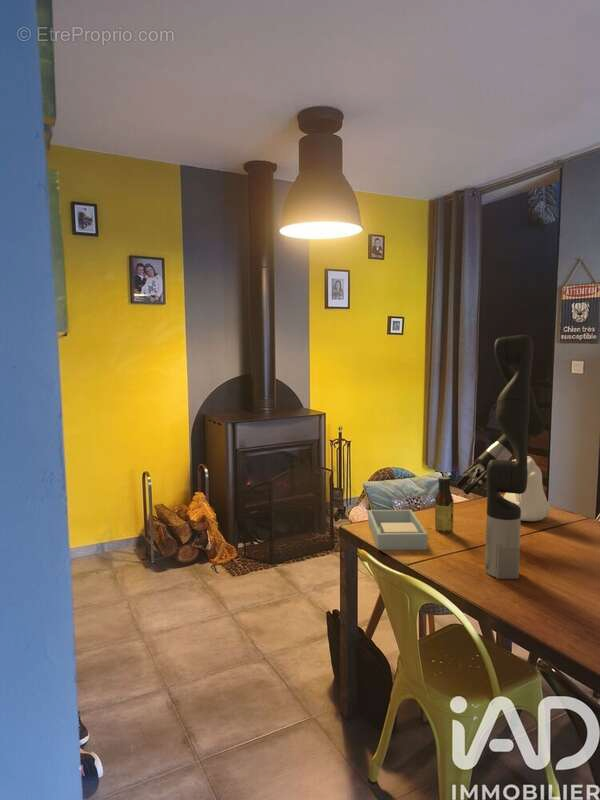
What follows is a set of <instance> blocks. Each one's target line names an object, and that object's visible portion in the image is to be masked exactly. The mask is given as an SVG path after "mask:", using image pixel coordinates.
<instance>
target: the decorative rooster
mask: <svg viewBox="0 0 600 800" xmlns="http://www.w3.org/2000/svg"><path fill="white" fill-rule="evenodd" d="M511 461H516V458H515V459H512V460H511ZM527 469H528V479H527V487H526V490H525V492H524V493H523V494H515V493H504V496H503V498H505V499H506V500H508V501H510V502H513V503H515V504H517V505H518V506H519V507H520V509H521V521H526V522H536V521H537V522H538V521H541V520H543V519H545V517H546V516H548V515H550V513H551V504H550V503H549V502H548V500H547V496H546V494H545V492H544V491H545V490H544V486H543V474H542V470H541V469H540V467H539V466H538V465H537V463H536V462H535V460H534V458H532V456H528V455H527Z"/></svg>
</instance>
